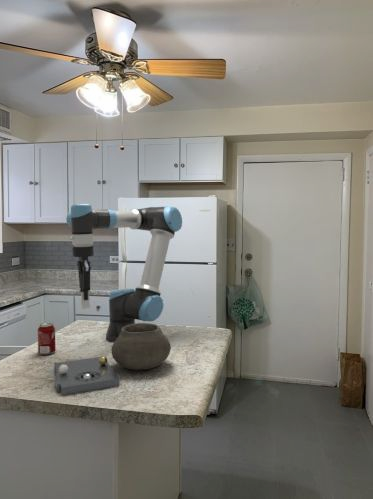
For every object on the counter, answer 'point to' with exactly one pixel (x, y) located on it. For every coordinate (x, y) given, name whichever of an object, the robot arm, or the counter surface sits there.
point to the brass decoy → (103, 360)
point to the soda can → (46, 339)
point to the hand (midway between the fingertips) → (85, 308)
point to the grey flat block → (77, 369)
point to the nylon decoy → (63, 369)
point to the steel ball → (87, 376)
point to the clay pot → (140, 346)
